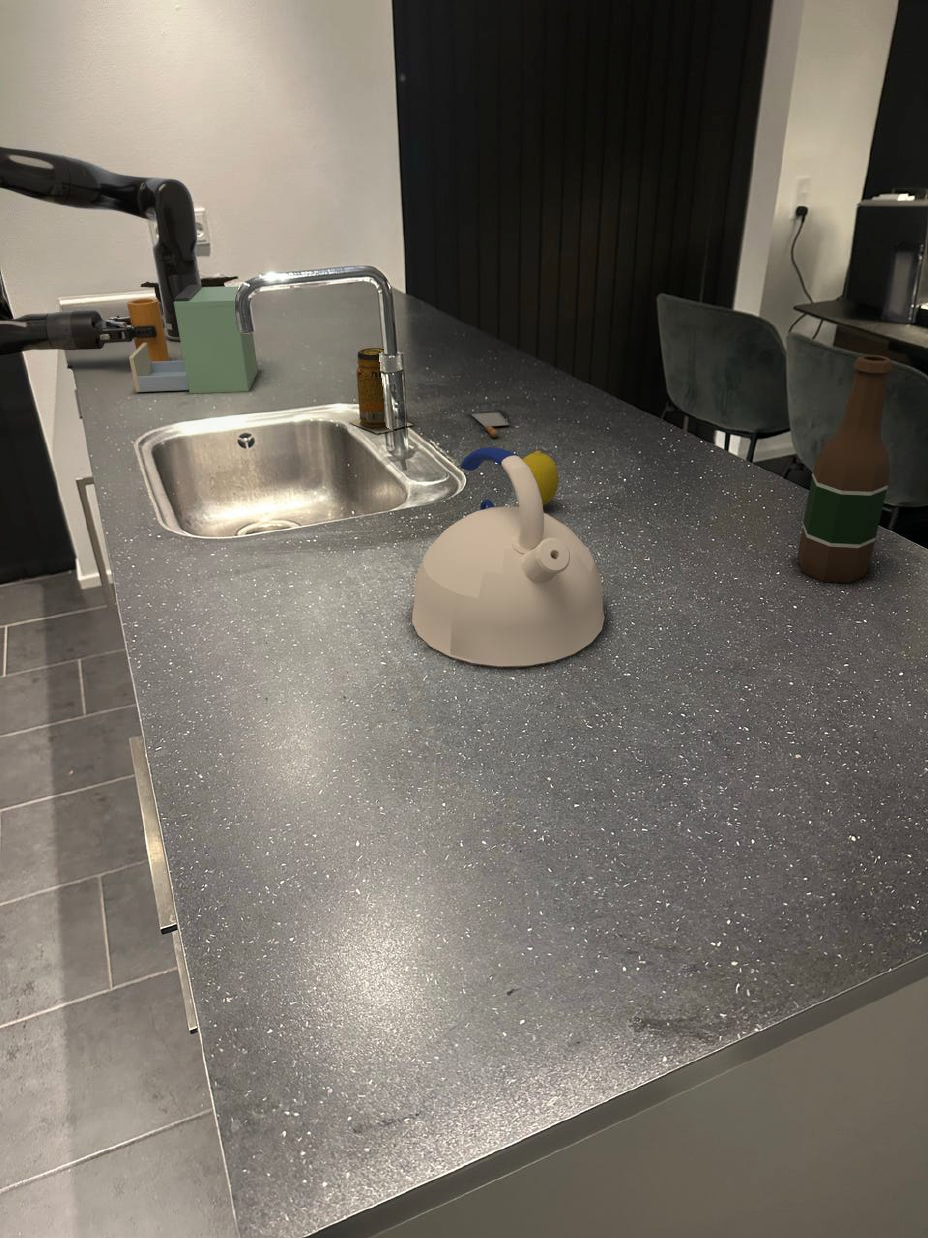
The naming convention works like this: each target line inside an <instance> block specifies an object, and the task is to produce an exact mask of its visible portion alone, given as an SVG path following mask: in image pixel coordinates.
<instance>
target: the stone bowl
mask: <svg viewBox="0 0 928 1238" xmlns="http://www.w3.org/2000/svg"><path fill="white" fill-rule="evenodd" d="M200 280H201V286H202V287H226V283H228V282H232V281H233V280H239V275H238V276H236V275H235V276H222V277H221V276H216V277H211V276H210V277H200ZM140 288H150V289H153V290H154V294H155V299H158V300H159V304H162V300H161V295H160V289H159V284H158V282H153V281H152V282H150V281H146V282H143V283H141V285H140Z"/></svg>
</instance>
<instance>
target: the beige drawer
mask: <svg viewBox="0 0 928 1238" xmlns="http://www.w3.org/2000/svg"><path fill="white" fill-rule="evenodd" d="M128 360H129V364H130V369H131V374H132V379H133V384H134V387H135V388H134V389H135V392H136V393H144V392H169V391H170V392H171V391H172V392H173V391H174V392H175V391H189V387H188V381H187V375H186V370H185V364H184V360H170V361H159V362H151V360H150V355H149V350H148V345H147V343H143V344H142V345H141V346H140V347H139V348H138V349H137V350H136V349H135V351H134V352H133V353H132V354H131V355H130V356H128Z"/></svg>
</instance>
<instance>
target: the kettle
mask: <svg viewBox="0 0 928 1238" xmlns="http://www.w3.org/2000/svg"><path fill="white" fill-rule="evenodd" d="M486 461H487V462H488V461H491V462H493V463H495V464H497V465H499V466H501V468H502V467H503V469H504V471H505V472H506V474H507V475H508V477H509V479H510V481H511V483H512V485H513V488H514V491H515V495H516V499H517V503H518V506H494V503H493V502H492V501H491V500H490V499H485V500H482V501H481V503H480V506H479V510H476V511H474V512H472V513H470V514H467V515H466V516H464V517H462V518H461V519H459V520H458V521H456V522H454V523H453V524H451V525H450V526H448V528H446V529H445V530H444V531H443V532H442V533H441V534H440V535H439V536H438V537H437V538H436V539H435V541H434V542H433V543H432V544H431V545H430V546H429V548H428V549H427V551H426V553H425V554H424V556H423V558H422V561H421V563H420V565H419V568H418V570H417V573H416V575H415V577H414V578H415V581H414V598H413V600H414V601H413V609H412V618H411V619H412V620H411V622H412V625H413V627H414V629H415V631H416V633H417V635H418V637H420V638H421V639H422V640H423V641H424V642H425V643H426V644H427V645H428V646H429V647H431V648H432V649H434V650H436V651H437V652H439V653H442V654H443V655H445V656H447V657H449V658H451V659H453V660H458V661H462V662H465V663H467V664H468V663H469V664H472V665H477V666H484V667H491V668H492V667H493V668H528V667H533V666H539V665H546V664H551V663H555V662H556V661H560V660H562V659H565V658H568V657H571V656H573V655H575V654H576V653H577V652H579V651H581V650H583V649H584V648H585V647H587V646H589V645H590V644H592V643H593V641H595V639H596V638H597V637H598V635H599V634H600V633H601V632H602V631H603V627H604V621H605V614H604V595H603V594H604V593H603V592H604V591H603V582H602V579H601V575H600V573H599V568H598V567H597V564H596V562H595V560H594V557H593V555H592V552H591V551H590V549H588V547H587V546H586V545H585V544H584V543H583V542H582V540H581V539H580V538H579V537H578V536H577V535H576V533H575V532H573V530H572V529H571V528H570V527H568V526H566V525H565V524H563V523H562V522H560V521H559V520H557V519H556V518H554V517H552V516H551V515H549V514H548V513H546V512H544V505H543V504H542V499H541V495H540V492H539V488H538V485H537V482H536V480H535V478H534V476H533V474H532V472H531V469H530V468H529V467H528V466H527V465H526V464H525V462H524V461H523V458H521V456H520V455H518V454H517V453H514V452H513V451H511V450H508V449H504V448H500V447H495V446H491V447H490V446H489V447H481V448H478V449H476V450H473V451H471V452H470V453H469V454H468V455H466V456H465V457H464V459H463V460H462V462H461V463H460V468H461V469H462V470H464V471H468V472H470V471H476V470H477V469H479V467H480V466H481V464H483V463H484V462H486Z"/></svg>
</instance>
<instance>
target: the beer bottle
mask: <svg viewBox="0 0 928 1238" xmlns="http://www.w3.org/2000/svg"><path fill="white" fill-rule="evenodd" d="M852 367H853V368H854V369H855V371H854V375H853V378H852V382H851V386H850V389H849V394H848V397H847V401H846V405H845V409H844V412H843V415H842V419H841V421H840V423H839V427H838V428H837V431H836V433H834V435H832V436H831V437H830V438H829V439H828V440H827V441H826V442H825V443H824V445H823V446H822V448H821V449H820V451H819V453H818V454H817V456H816V459H815V463H814V466H813V470H812V473H811V480H810V485H809V491H808V497H807V502H806V506H805V513H804V518H803V523H802V528H801V533H800V539H799V543H798V552H797V561H798V563H799V566H800V570H801V572H802V574H804V575H806V576H809V577H811V578H814V579H816V580H818V581H820V582H824V583H837V584H838V583H839V584H851V583H852V582H855V581H857V580H859V579H861V578H863V577H865V576H866V574H867V573H868V570H869V566H870V563H871V559H872V557H873V556H872V555H873V551H874V547H875V542H876V538H877V534H878V529H879V527H880V526H879V525H880V521H881V516H882V512H883V509H884V503H885V499H886V497H887V496H886V495H887V492H888V487H889V480H890V473H891V465H890V464H891V463H890V459H889V453H888V451H887V449H886V447H885V444H884V442H883V440H882V420H883V414H884V406H885V400H886V393H887V387H888V379H889V375H890V373H891V372H893V371H894V368H893V367H894V366H893V360H891V358H890V357H887V356H884V355H879V354H865V355H862V356H857V357H856V359H855V360H854V363H853V365H852Z"/></svg>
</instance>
